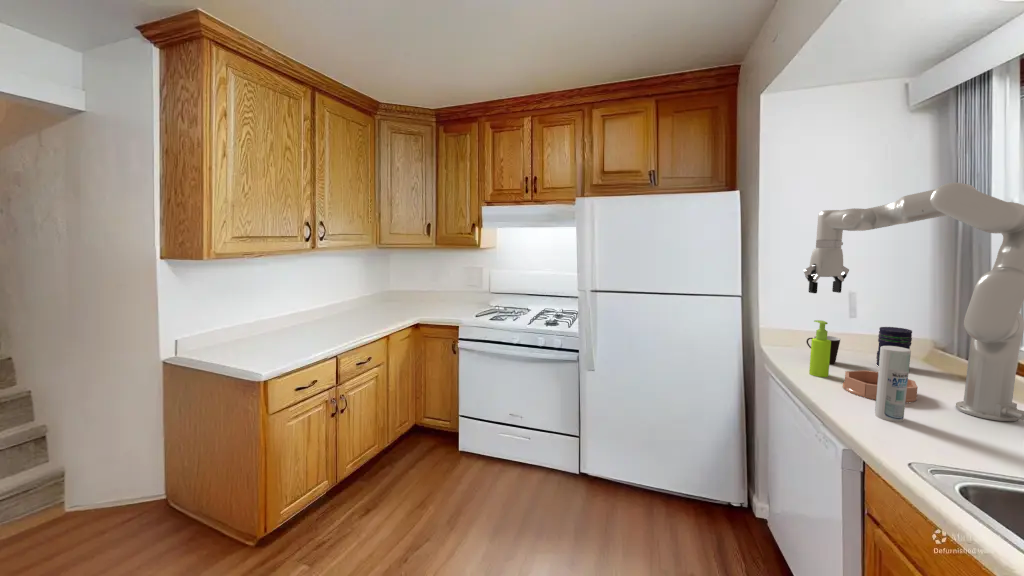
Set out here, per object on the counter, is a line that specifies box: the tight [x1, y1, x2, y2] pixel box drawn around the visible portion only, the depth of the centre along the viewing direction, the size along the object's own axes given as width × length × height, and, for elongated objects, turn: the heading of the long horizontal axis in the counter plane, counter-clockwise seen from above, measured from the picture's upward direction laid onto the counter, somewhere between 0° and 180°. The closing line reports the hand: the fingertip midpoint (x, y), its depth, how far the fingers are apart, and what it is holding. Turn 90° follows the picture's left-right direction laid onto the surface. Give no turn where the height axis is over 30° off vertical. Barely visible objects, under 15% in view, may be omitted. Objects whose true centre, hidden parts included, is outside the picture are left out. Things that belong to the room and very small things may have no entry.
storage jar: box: [875, 326, 913, 367], centre depth 174 cm, size 10×10×15 cm
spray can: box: [874, 346, 912, 423], centre depth 127 cm, size 6×6×20 cm
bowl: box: [842, 369, 918, 404], centre depth 148 cm, size 19×19×4 cm
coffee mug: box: [806, 335, 841, 365], centre depth 184 cm, size 12×9×10 cm
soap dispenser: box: [808, 319, 831, 378], centre depth 166 cm, size 6×7×20 cm
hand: (824, 292), depth 163 cm, fingers open, 9 cm apart
